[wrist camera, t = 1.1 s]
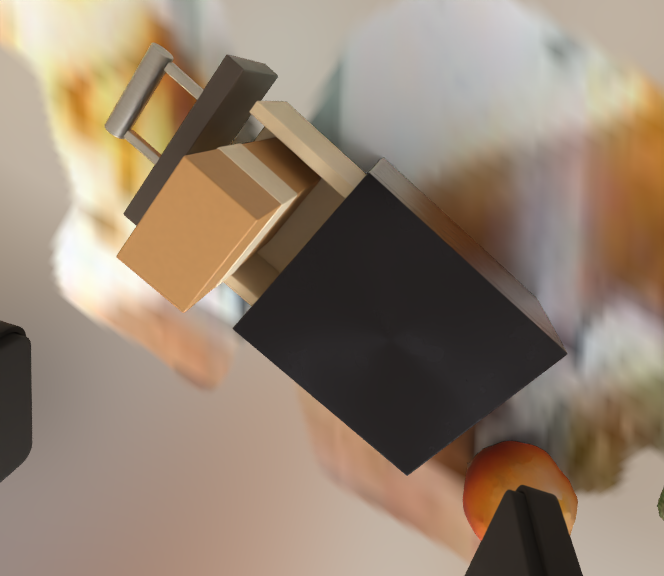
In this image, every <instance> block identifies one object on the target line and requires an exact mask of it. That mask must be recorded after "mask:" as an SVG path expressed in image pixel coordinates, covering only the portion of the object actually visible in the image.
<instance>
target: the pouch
mask: <svg viewBox="0 0 664 576" xmlns="http://www.w3.org/2000/svg"><path fill="white" fill-rule="evenodd" d="M657 507H658V510H659V516H660V517H661V518H662V519H663V520H664V488H663V490H662V493H661V496H660V498H659V500H658V505H657Z"/></svg>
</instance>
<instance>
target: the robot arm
mask: <svg viewBox="0 0 664 576" xmlns="http://www.w3.org/2000/svg"><path fill="white" fill-rule="evenodd" d="M31 448H32V394H31V343H30V340H29V338H27V337H26V334H25V331H24V330H23V328H21V327H19V326H16V325H12V324H9V323H6V322H3V321H0V482H2V481H3V480H4V479H5V478H6V477H7V476H8V475H10V474H11V473H12V472H13V471H14V470H15V469H16V468H17V467H19V466H20V465H21V464H22V463H23V462H24V461H25V459H26V458H27V456H28V455H29V453H30V450H31ZM465 576H583V575H582V572H581V568H580V565H579V562H578V559H577V556H576V553H575V550H574V547H573V544H572V541H571V538H570V534H569V531H568V528H567V525H566V522H565V519H564V516H563V513H562V510H561V507H560V504H559V501H558V499H557V497H556V496H555V495H554V494H551V493H548V492H545V491H541V490H538V489H535V488H532V487H529V486H526V485H520V486H519V487H518V488H517V489H516V491H513V490H507V491H506V492H505V494H504V495H503V497H502V499H501V502H500V504H499V506H498V508H497V510H496V512H495V514H494V516H493V518H492V520H491V522H490V524H489V526H488V528H487V530H486V533H485V535H484V537H483V539H482V541H481V543H480V545H479V547H478V549H477V551H476V553H475V555H474V557H473V559H472V561H471V564H470V566H469V568H468V570H467V572H466V574H465Z"/></svg>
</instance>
